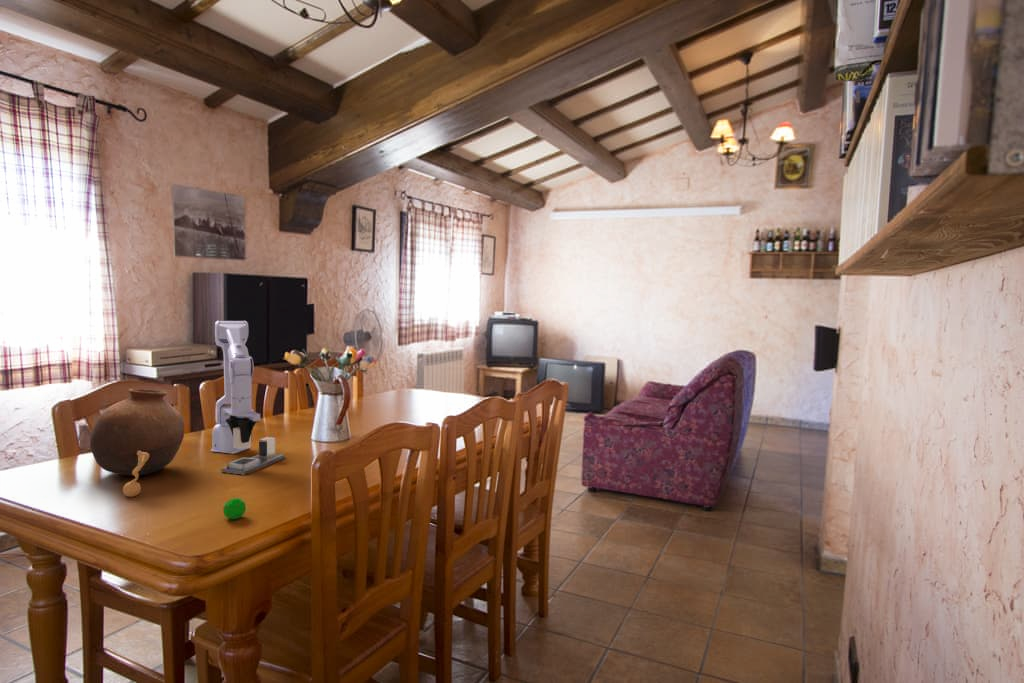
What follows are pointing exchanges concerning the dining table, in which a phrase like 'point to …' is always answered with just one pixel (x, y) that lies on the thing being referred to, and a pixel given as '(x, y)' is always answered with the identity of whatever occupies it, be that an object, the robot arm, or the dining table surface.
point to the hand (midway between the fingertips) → (241, 441)
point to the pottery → (137, 433)
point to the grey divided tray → (255, 458)
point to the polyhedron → (234, 508)
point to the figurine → (133, 486)
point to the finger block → (237, 439)
